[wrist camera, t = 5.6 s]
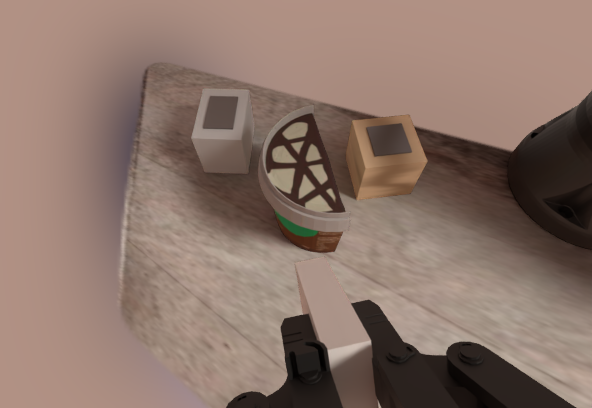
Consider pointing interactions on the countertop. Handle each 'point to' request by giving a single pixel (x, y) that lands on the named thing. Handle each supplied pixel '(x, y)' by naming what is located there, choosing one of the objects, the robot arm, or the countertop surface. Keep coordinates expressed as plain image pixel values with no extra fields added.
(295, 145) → the food container
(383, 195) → the oak block
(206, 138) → the grey painted block
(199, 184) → the countertop surface
